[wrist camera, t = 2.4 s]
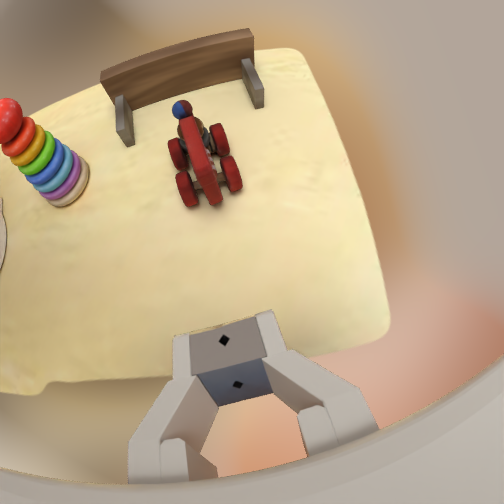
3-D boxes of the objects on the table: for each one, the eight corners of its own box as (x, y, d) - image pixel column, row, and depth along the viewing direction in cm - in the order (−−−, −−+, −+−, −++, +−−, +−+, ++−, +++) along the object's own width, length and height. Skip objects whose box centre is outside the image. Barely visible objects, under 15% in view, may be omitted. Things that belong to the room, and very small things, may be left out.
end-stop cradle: (268, 106, 38) (270, 65, 30) (122, 149, 37) (98, 115, 29) (250, 66, 40) (248, 28, 32) (120, 104, 39) (100, 71, 31)
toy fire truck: (219, 124, 37) (208, 70, 27) (248, 204, 34) (244, 159, 24) (169, 141, 37) (146, 90, 27) (191, 223, 34) (166, 185, 24)
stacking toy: (77, 213, 35) (-17, 147, 16) (41, 203, 35) (-44, 146, 17) (99, 161, 36) (26, 78, 18) (62, 156, 37) (-9, 86, 19)
